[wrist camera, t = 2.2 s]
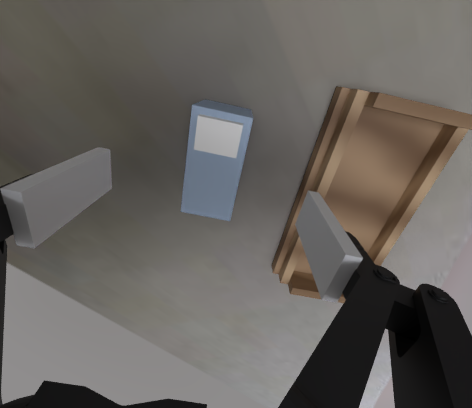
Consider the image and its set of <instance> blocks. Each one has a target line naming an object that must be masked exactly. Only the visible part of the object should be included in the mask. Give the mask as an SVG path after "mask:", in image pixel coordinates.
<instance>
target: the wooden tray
mask: <svg viewBox="0 0 472 408" xmlns="http://www.w3.org/2000/svg"><path fill="white" fill-rule="evenodd" d="M468 129H470V130H472V115H471V114H467V113H462V112H458V111H454V110H450V109H445V108H441V107H437V106H433V105H429V104H424V103H420V102H416V101H412V100H408V99H403V98H399V97H395V96H391V95H387V94H382V93H375V92H367V91H363V90H359V89H349V88H344V87H336V89H335V92H334V95H333V97H332V100H331V103H330V106H329V108H328V111H327V114H326V117H325V120H324V122H323V125H322V128H321V131H320V133H319V136H318V139H317V142H316V144H315V147H314V150H313V153H312V155H311V158H310V161H309V164H308V167H307V169H306V172H305V175H304V178H303V180H302V183H301V186H300V189H299V191H298V194H297V197H296V200H295V202H294V205H293V208H292V211H291V214H290V216H289V219H288V222H287V225H286V227H285V230H284V233H283V236H282V238H281V241H280V244H279V247H278V249H277V252H276V255H275V258H274V260H273V263H272V269H273V273H276V274H279V279H280V283H284V284H288V286H289V291H290V294H294V295H300V296H305V297H311V298H317V299H321V297H320V294H319V291H318V288H317V285H316V283H315V280H314V277H313V274H312V271H311V268H310V266H309V263H308V260H307V257H306V254H305V251H304V248H303V246H302V243H301V240H300V237H299V234H298V231H297V229H296V226H295V223H296V221H297V218H298V215H299V213H300V210H301V208H302V205H303V202H304V200H305V197H306V194H307V192H308V191H313V192H318V193H320V195H321V196H322V198H323V199H324V201H325V202H326V204H327V205H328V207H329V208H330V210H331V211H332V213H333V214H334V216H335V217H336V219H337V220H338V222H339V223H340V225H341V226H342V227H343V229H344V230H345V231H346V232H349V233H351V234H352V235H353V236H354V237H356V238H357V240H358V241H359V243H360V244H361V245H362V247H363V248H364V250H365V251H366V252H367V254H368V255H369V257H370V258H371V259H372V261H373V262H374V263H375V265H379V266H380V265H381V264H382V262H383V261H384V259H385V258H386V256H387V255H388V253H389V252H390V250H391V248H392V247H393V245H394V244H395V242H396V241H397V239H398V238H399V236H400V235H401V233H402V231H403V230H404V228H405V227H406V225H407V224H408V222H409V221H410V219H411V218H412V216H413V214H414V213H415V211H416V210H417V208H418V207H419V205H420V204H421V202H422V201H423V199H424V197H425V196H426V194H427V193H428V191H429V190H430V188H431V187H432V185H433V184H434V182H435V180H436V179H437V177H438V176H439V174H440V173H441V171H442V170H443V168H444V167H445V165H446V163H447V162H448V160H449V159H450V157H451V156H452V154H453V153H454V151H455V150H456V148H457V146H458V145H459V143H460V142H461V140H462V139H463V137H464V136H465V134H466V133H467V131H468ZM345 301H346V300H345V298H344V295H343V293H342V295H341V297H340V298H339V300H338V302H340V303H344V302H345Z"/></svg>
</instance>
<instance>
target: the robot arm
mask: <svg viewBox="0 0 472 408" xmlns="http://www.w3.org/2000/svg"><path fill="white" fill-rule="evenodd" d="M111 189H112V176H111V155H110V149H105V148H101V147H97V148H95V149H92V150H90V151H87V152H85V153H83V154H80V155H78V156H76V157H73V158H71V159H69V160H66V161H64V162H61V163H59V164H57V165H54V166H52V167H50V168H47V169H45V170H42V171H40V172H38V173H35V174H30V175H28V176H25V177H23V178H20V180H19V179H18V180H16V181H13V182H12V183H8V184H6V185H4V186H1V187H0V408H207V404H200V403H194V402H187V401H180V400H173V399H164V400H158V401H152V402H145V403H139V404H134V405H127V406H121V405H119V404H117V403H115V402H113V401H111V400H109V399H107V398H105V397H103V396H102V395H100V394H98V393H96V392H94V391H93V390H91V389H89V388H87V387H84V386H78V385H71V384H63V383H57V382H51V381H44V382H43V383H42V385H41V386H40V387H39V389H38V391H37V392H36V393H35V395H31V396H27V397H23V398H19V399H16V400H13V401H11V402H8V403H5V404H2V399H1V375H2V353H3V329H4V307H5V306H4V305H5V284H6V261H7V244H6V241H5V239H6V238H8V237H9V236H11V235H14V238H15V242H16V245H18V246H23V247H29V248H36V247H37V246H38V245H40V244H41V243H42V242H44V241H45V240H46V239H47V238H49V237H50V236H51V235H53V234H54V233H55V232H56V231H58V230H59V229H60V228H62V227H63V226H64V225H66V224H67V223H68V222H69V221H71V220H72V219H73V218H75V217H76V216H77V215H78V214H80V213H81V212H82V211H84V210H85V209H86V208H87V207H89V206H90V205H91V204H93V203H94V202H95V201H96V200H98V199H99V198H100V197H102V196H103V195H104V194H105V193H107V192H108V191H109V190H111ZM295 226H296V229H297V231H298V234H299V237H300V240H301V243H302V246H303V248H304V251H305V254H306V257H307V260H308V263H309V266H310V268H311V271H312V274H313V277H314V280H315V283H316V285H317V288H318V291H319V294H320V297H321V300H326V301H331V302H338V300H339V298H340V297H341V295H342V293H343V295H344V298H345V300H346V301H345V302H344V304H343V305H342V307H341V309H340V310H339V312H338V313H337V315H336V317H335V318H334V320H333V321H332V323H331V325H330V326H329V328H328V329H327V331H326V333H325V334H324V336H323V337H322V339H321V341H320V342H319V344H318V345H317V347H316V349H315V350H314V352H313V353H312V355H311V357H310V358H309V360H308V361H307V363H306V365H305V366H304V368H303V369H302V371H301V373H300V374H299V376H298V377H297V379H296V381H295V382H294V384H293V385H292V387H291V388H290V390H289V391H288V393H287V394H286V396H285V398H284V399H283V401H282V402H281V404H280V406H279V407H278V408H359V405H360V402H361V399H362V396H363V393H364V390H365V387H366V384H367V381H368V378H369V375H370V372H371V369H372V366H373V363H374V360H375V357H376V354H377V351H378V348H379V345H380V342H381V339H382V336H383V333H384V330H385V328H386V329H388V333H389V345H390V356H391V368H392V379H393V391H394V401H395V408H472V335H471V333H470V331H469V329H468V327H467V325H466V323H465V320H464V318H463V316H462V314H461V312H460V309H459V307H458V305H457V304H456V302H455V301H454V299H452V298H451V297H450V296H449V295H448V294H447V293H446V292H444V291H443V290H441V289H439V288H437V287H435V286H432V285H429V284H421V285H419V287H418V288H417V289H416V291H415V290H413V289H410V288H408V287H405V286H403V285H400V282H399V280H398V278H397V277H396V276H395V275H394V274H393V273H392V272H390V271H389V270H387V269H386V268H384V267H382V266H379V265H375V263H374V262H373V261H372V259H371V258H370V257H369V255H368V254H367V252H366V251H365V250H364V248H363V247H362V245H361V244H360V243H359V241H358V240H357V238H356V237H354V236H353V235H352V234H351V233H349V232H346V231H345V230H344V229H343V227H342V226H341V225H340V223H339V222H338V220H337V219H336V217H335V216H334V214H333V213H332V211H331V210H330V208H329V207H328V205H327V204H326V202H325V201H324V199H323V198H322V196H321V195H320V193H318V192H313V191H308V192H307V194H306V197H305V200H304V202H303V205H302V208H301V210H300V213H299V215H298V218H297V221H296V223H295Z"/></svg>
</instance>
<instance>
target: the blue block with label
mask: <svg viewBox="0 0 472 408" xmlns="http://www.w3.org/2000/svg"><path fill="white" fill-rule="evenodd" d="M252 122H253V115H252V111H251V109H247V108H242V107H238V106H233V105H229V104H224V103H220V102H215V101H211V100H206V99H205V100H202V101H200V102H198V103H195V104H193V105H192V111H191V120H190V129H189V138H188V148H187V157H186V166H185V176H184V185H183V194H182V203H181V212H185V213H190V214H195V215H200V216H206V217H211V218H216V219H221V220H227V221H230V219H231V215H232V210H233V206H234V202H235V197H236V193H237V188H238V184H239V179H240V175H241V171H242V166H243V162H244V157H245V153H246V149H247V144H248V140H249V135H250V131H251V126H252Z"/></svg>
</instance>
